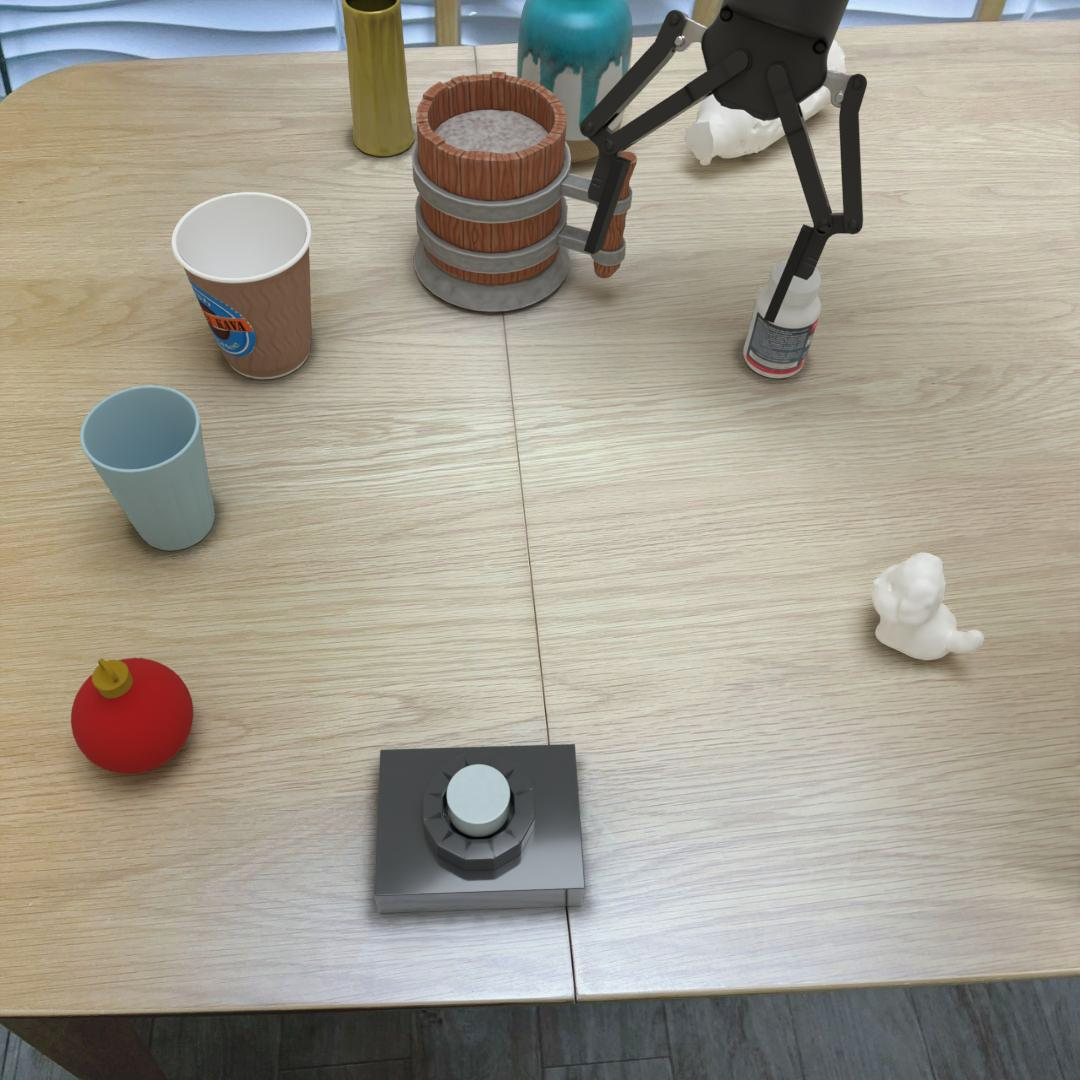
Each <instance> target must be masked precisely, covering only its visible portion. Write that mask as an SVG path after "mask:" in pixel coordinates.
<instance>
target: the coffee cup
mask: <svg viewBox="0 0 1080 1080" xmlns="http://www.w3.org/2000/svg"><path fill="white" fill-rule="evenodd" d="M171 235H172V236H171V250H172V251H171V252H172V254H173V256H174V258H175V259H176V261H177V262H178V263H179V264H180V265H181V266H182V267H183V270H184V272H185V274H186V276H187V279H188V282H189V284H190V285H191V288H192V290H193V292H194V293H193V294H194V295H195V297H196V299H197V301H198V303H199V306H200V308H201V310H202V313H203V315H204V318H205V320H206V322H207V324H208V327H209V328H210V331H211V333H212V335H213V338H214V339H215V341H216V343H217V344H218V347H219V349H220V352H221V354H222V355H223V357H224V358H225V359H226V361H227V363H228V364H229V366H230V367H231V368H232V369H233V371H235V372H237V373H238V374H240V375H241V376H244V377H245V378H249V379H253V380H272V379H273V380H274V379H279V378H282V377H284V376H288V375H289V374H291V373H293V372H295V371H296V370H298V369H299V368H300V367H301V366H302V365H303V364H305V363H306V360H307V359H308V357H309V355H310V352H311V344H312V343H311V341H312V340H313V339H312V338H313V337H312V336H313V335H312V333H313V332H312V302H311V300H312V299H311V298H312V297H311V265H310V263H311V261H310V259H311V258H310V244H311V242H312V238H313V237H312V236H313V228H312V224H311V222H310V219H309V217H308V215H307V214H306V213H305V212H304V211H303V210H302V208H300V207H299V206H298V204H295V203H294V202H292V201H290V200H288V199H287V198H285V197H282V196H279V195H276V194H271V193H267V192H260V191H259V192H258V191H242V192H233V193H226V194H222V195H219V196H216V197H213V198H210V199H207V200H205V201H203V202H201V203H199V204H197V205H196V206H194V207H193V208H191V209H190V210H188V211H187V212H186V213H185V214H184V215H183V216H182V217H181V218H180V219H179V220H178V222H177V223H176V225H175V227H174V228H173V232H172V234H171Z"/></svg>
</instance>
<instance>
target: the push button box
mask: <svg viewBox="0 0 1080 1080" xmlns="http://www.w3.org/2000/svg"><path fill="white" fill-rule="evenodd" d="M576 752H577V751H576V744H575V743H564V744H563V743H562V744H559V743H558V744H531V745H530V744H529V745H526V744H525V745H495V746H494V745H493V746H462V747H461V746H458V747H456V746H455V747H426V748H425V747H423V748H392V749H391V748H390V749H380V750H379V770H378V792H377V816H376V818H377V819H376V837H375V839H376V840H375V841H376V842H375V861H374V863H375V864H374V865H375V867H374V884H373V885H374V889H373V896H374V901H375V904H376V907H377V911H378V913H379V914H394V913H395V914H396V913H421V912H422V913H423V912H446V911H449V912H450V911H476V910H477V911H479V910H501V909H503V910H505V909H529V908H556V907H557V908H558V907H560V908H561V907H582V905H583V901H584V897H585V896H584V895H585V891H586V880H585V867H584V866H585V864H584V853H583V852H584V851H583V836H582V823H581V809H580V807H581V806H580V795H579V793H580V792H579V780H578V768H577V767H578V765H577V753H576ZM476 764H482V765H487V766H491V767H493V768H495V769H497V770H498V771H499V772H500V773H501V774H502V775H503V776H504V777H505V778H506V780H507V782H508V785H509V788H510V810H509V815H508V818H507V820H506V822H505V823H504V825H503V826H502V827H501V828H500V829H499V830H497V831H496V832H494V833H493V834H490V835H488V836H483V837H473V836H469V835H466V834H464V833H462V832H460V831H459V830H458V829H457V828H456V827H455V826H454V825H453V824H452V822H451V820H450V818H449V814H448V806H447V788H448V785H449V782H450V780H451V779H452V777H453V776H454V775H455V774H456V773H457V772H458V771H460V770H461V769H463V768H465V767H467V766H470V765H476Z"/></svg>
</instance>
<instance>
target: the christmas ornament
mask: <svg viewBox="0 0 1080 1080" xmlns="http://www.w3.org/2000/svg"><path fill="white" fill-rule="evenodd" d="M97 664H98V665H97V666H96V667H95V669H94V670H93V672H92V674H91V675H90V676H88V677H87V678H86V680H85V681H84V682H83V683H82V685H81V686H80V688H79V690H78V691H77V692H76V695H75V697H74V700H73V703H72V706H71V713H70V726H71V727H70V728H71V733H72V735H73V739H74V741H75V742H76V746H77V747H78V749H79V750H80V751H81V753H82V754H83V756H85V757H86V758H87V759H88V760H89V761H90V762H92V763H93V764H94V765H95V766H97V767H99V768H101V769H103V770H105V771H108V772H111V773H115V774H119V775H136V774H143V773H146V772H150V771H153V770H155V769H157V768H160V767H161V766H163V765H165V764H166V763H168V762H169V761H170V760H172V759H173V758H174V757H175V756H176V755H177V754H178V753H179V752H180V750H181V749H182V748H183V746H184V745H185V744H186V742H187V740H188V738H189V736H190V733H191V731H192V726H193V722H194V704H193V699H192V695H191V693H190V691H189V689H188V687H187V684H186V683H185V682H184V681H183V679H182V677H180V675H179V674H178V673H177V672H175V671H174V670H173V669H172V668H170V667H169V666H167V665H165V664H164V663H161V662H158V661H156V660H153V659H149V658H142V657H129V658H122V659H109V660H108V659H107V660H105V658H100V659H98V660H97Z"/></svg>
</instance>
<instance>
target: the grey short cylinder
mask: <svg viewBox="0 0 1080 1080" xmlns="http://www.w3.org/2000/svg"><path fill="white" fill-rule="evenodd" d="M447 806H448V814H449V818H450V820H451V822H452V824H453V825H454V826H455V827H456V828H457V829H458V830H459V831H460V832H462V833H464V834H466V835H469V836H473V837H483V836H488V835H490V834H493V833H494V832H496V831H497V830H499V829H500V828H501V827H502V826H503V825H504V823H505V822H506V820H507V818H508V815H509V810H510V788H509V785H508V782H507V780H506V778H505V777H504V776H503V775H502V774H501V773H500V772H499V771H498V770H497V769H495V768H493V767H491V766H487V765H482V764H476V765H470V766H467V767H465V768H463V769H461V770H460V771H458V772H457V773H456V774H455V775H454V776H453V777H452V779H451V780H450V782H449V785H448V788H447Z"/></svg>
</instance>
